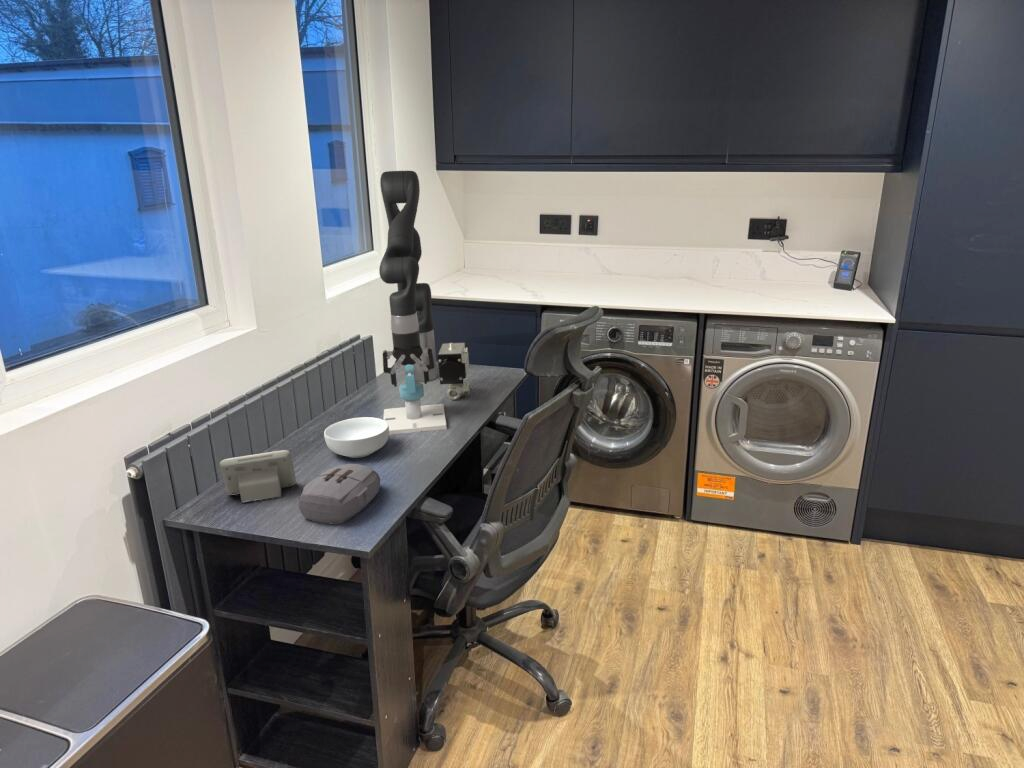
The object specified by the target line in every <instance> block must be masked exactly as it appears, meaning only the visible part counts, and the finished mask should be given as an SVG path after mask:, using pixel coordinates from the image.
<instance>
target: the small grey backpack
mask: <svg viewBox="0 0 1024 768" xmlns="http://www.w3.org/2000/svg"><path fill="white" fill-rule="evenodd" d="M380 483H381V478H380V475H379V473H378V472H377V471H376V470H375V469H374V468H372V467H370V466H366V465H362V464H359V463H346V464H340V465H337V466H334V467H331V468H328V469H326V470H325V471H323V472H322V473H320V474H319V475H317V477H316V478H314V479H312V480H311V481H310V482H308V483H307V484H306V485H305V486H304V487H303V488H302V493H301V495H300V498H299V500H298V508H299V511H300V513H301V515H302V516H303V517H304V518H305V519H307V520H309V521H311V520H314V521H313V522H315V521H318V522H317V523H320V522H323V523H322V524H328V523H332V524H331V525H337V524H343V523H344V522H346V521H348V520H350V519H352V518H353V517H355V516H356V515H358V514H359V513H360V512H361V511H362V510H365V508H366V507H367V506H368V505H369V503H370V502H371V501H372V500H373V499H374V498H375V497H376V495H377V494H378V493H379V492H380Z"/></svg>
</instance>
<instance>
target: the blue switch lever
mask: <svg viewBox="0 0 1024 768" xmlns="http://www.w3.org/2000/svg"><path fill="white" fill-rule="evenodd" d="M404 367H405V368H404V369H405V370H404V371H405V374H404V375H405V377H404V378H405V383H402V384H400V385H399V386H398V391H399V392H398V393H399V397H400V399H401V400H404V401H405V400H415V399H419V398H420V399H422V398H423V397H424V396H425V392H424V383H423V382H417V381H415V375H414V365H410V364H408V365H404Z"/></svg>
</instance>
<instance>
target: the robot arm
mask: <svg viewBox="0 0 1024 768" xmlns="http://www.w3.org/2000/svg"><path fill="white" fill-rule="evenodd" d="M379 182H380V183H379V185H380V191H381V197H382V200H383V205H384V210H385V213H386V217H387V223H388V229H387V230H388V231H387V245H386V249H385V252H384V255H383V256H382V258H381V261H380V265H379V270H378V271H379V272H378V273H379V276H380V279H381V280H382V282H383V283H385V284H387V285H388V284H389V285H393V284H394V285H395V284H396V285H397V291H395V292H392V293H391V294H390V295H389V297H388V298H389V307H390V330H391V337H392V346H393V348H392V350H389V351H388V350H386V349H384V350H383V351H382V368H383V369H382V370H383V373H384V374H389V375H390V384H391V385H392V386H394V388H395V387H397V386H398V382H397V381H398V380H397V373H396V372H397V370H398V369H399V367H401V366H405V365H408V364H410V365H414V375H415V382H417V383H423V382H424V383H423V384H425V385H427V384H428V382H430V381H434V380H435V379H437V378H438V367H437V355H436V344H435V333H434V331H435V330H434V323H433V310H432V307H433V306H432V305H433V304H432V301H433V300H432V289H431V286H430V284H429V283H426V282H419V283H418V280H419V279H418V278H419V273H420V264H419V262H420V260H421V259H422V255H423V254H422V245H421V244H422V243H421V236H420V234H419V232H418V230H417V229H416V228H415V222H416V216H417V212H418V207H419V200H420V192H421V191H420V190H421V189H420V188H421V187H420V180H419V175H418V174H417V172H415V171H414V170H388V171H383V172H382V173H381V175H380V181H379ZM398 204H405V205H404V206H403V207H402V208H401V210H400V208H399V206H398ZM420 311H421V312H422V313H421V314H420V315H419V316H418V315H417V312H420ZM391 356H392V357H393V358H394V360H395V361H394V363H392V366H391V367H389V364H388V363H389V362H388V360H390V359H391Z"/></svg>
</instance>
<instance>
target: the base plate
mask: <svg viewBox="0 0 1024 768" xmlns="http://www.w3.org/2000/svg"><path fill="white" fill-rule="evenodd" d="M404 405H405V406H402V407H392V408H385V409H383V419H382V420H385V421H386V422H387V423H388V425H389V436H390V435H398V434H399V435H400V434H409V433H419V432H421V431H422V432H429V431H430V432H431V431H440V430H442V431H443V430H447V429H448V428H447V420H446V414H445V408H444V403H437V404H427V405H421V398H419V399H415V400H404ZM422 432H421V433H422Z"/></svg>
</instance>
